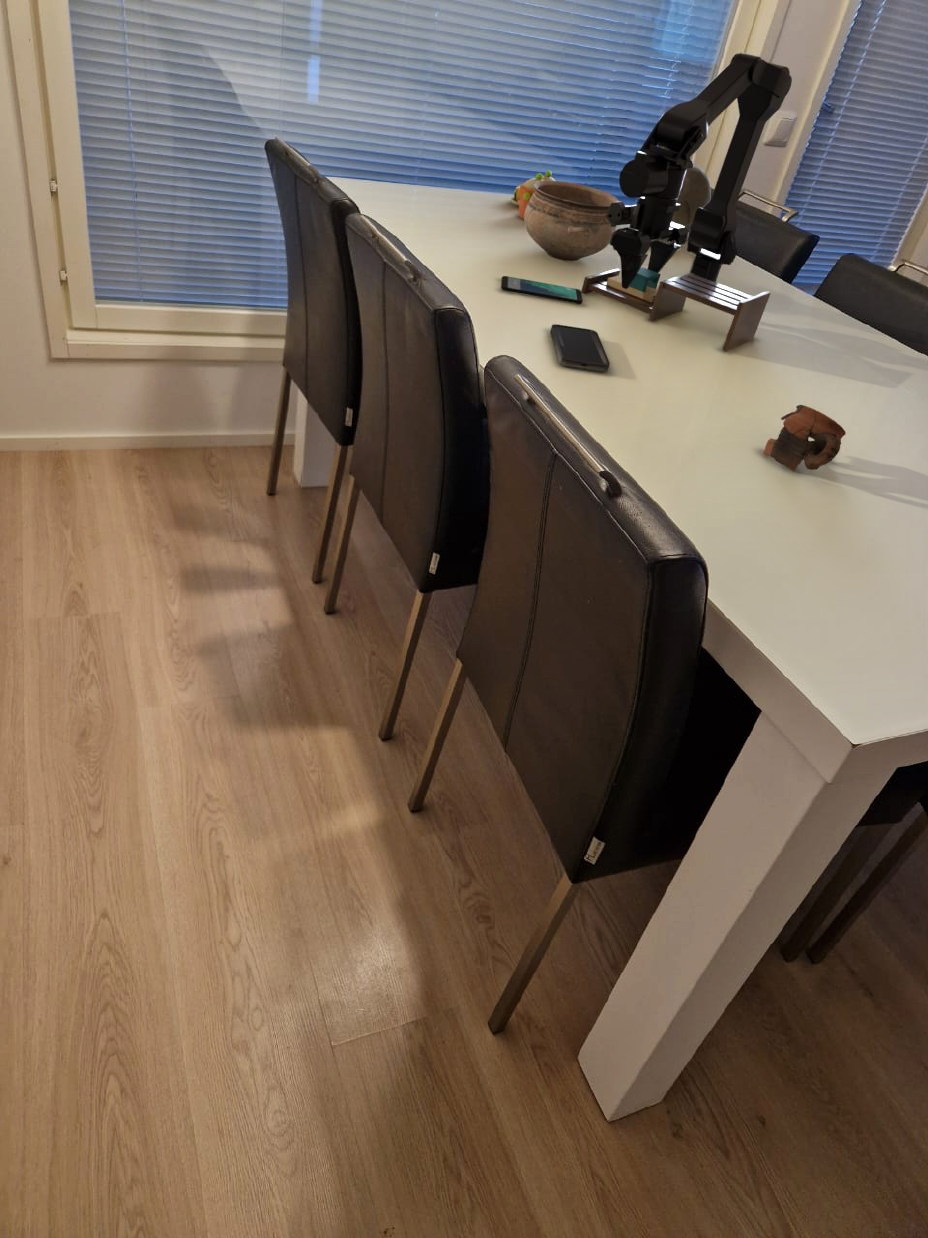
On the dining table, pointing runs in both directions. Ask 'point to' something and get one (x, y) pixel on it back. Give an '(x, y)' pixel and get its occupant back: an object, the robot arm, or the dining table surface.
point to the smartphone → (541, 289)
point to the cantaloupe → (692, 196)
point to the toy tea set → (527, 192)
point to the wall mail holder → (639, 284)
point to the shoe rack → (696, 289)
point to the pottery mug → (806, 439)
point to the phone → (579, 348)
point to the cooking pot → (569, 219)
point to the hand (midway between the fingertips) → (636, 284)
